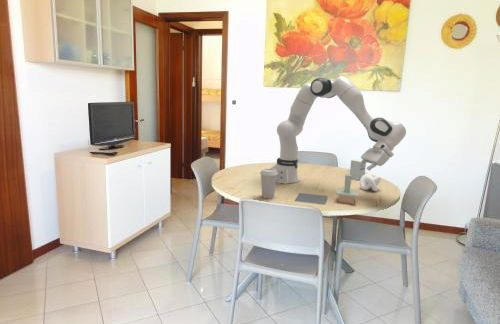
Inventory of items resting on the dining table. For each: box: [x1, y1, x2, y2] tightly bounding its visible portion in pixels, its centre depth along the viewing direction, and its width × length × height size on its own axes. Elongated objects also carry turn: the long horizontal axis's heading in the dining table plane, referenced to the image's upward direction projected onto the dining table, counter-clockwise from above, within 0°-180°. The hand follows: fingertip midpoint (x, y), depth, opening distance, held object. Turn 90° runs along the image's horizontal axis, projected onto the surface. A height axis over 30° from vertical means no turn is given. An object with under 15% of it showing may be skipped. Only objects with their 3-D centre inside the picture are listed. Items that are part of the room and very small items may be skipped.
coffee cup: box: [259, 167, 278, 199], centre depth 192 cm, size 10×10×15 cm
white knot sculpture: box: [359, 173, 382, 192], centre depth 213 cm, size 11×12×9 cm
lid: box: [336, 173, 358, 198], centre depth 187 cm, size 10×10×10 cm
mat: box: [294, 192, 329, 205], centre depth 191 cm, size 16×16×1 cm
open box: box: [337, 195, 356, 206], centre depth 189 cm, size 8×8×4 cm
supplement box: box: [349, 158, 367, 181], centre depth 239 cm, size 7×7×13 cm
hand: (363, 168), depth 189 cm, fingers open, 8 cm apart
